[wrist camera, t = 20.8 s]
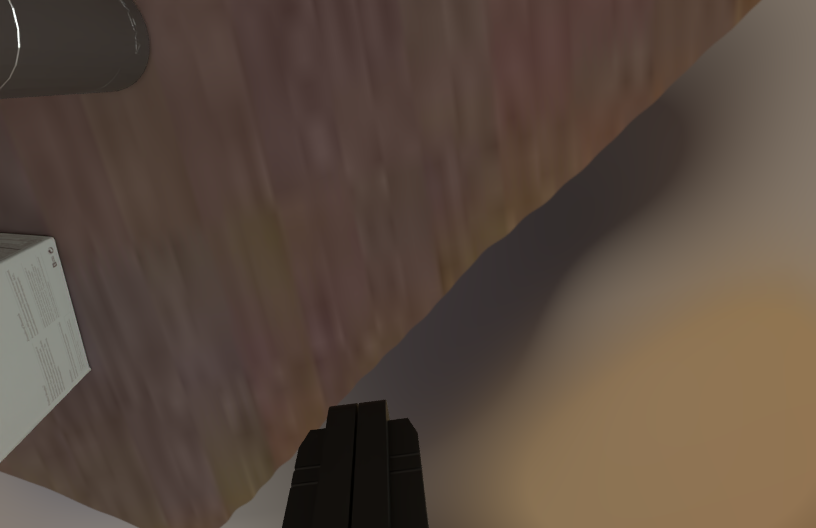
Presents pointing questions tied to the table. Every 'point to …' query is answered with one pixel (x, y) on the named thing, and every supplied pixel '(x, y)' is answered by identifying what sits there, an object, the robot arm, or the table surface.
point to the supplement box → (34, 336)
